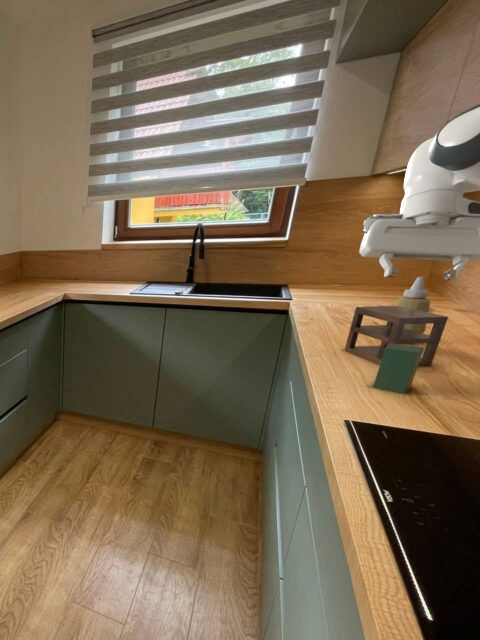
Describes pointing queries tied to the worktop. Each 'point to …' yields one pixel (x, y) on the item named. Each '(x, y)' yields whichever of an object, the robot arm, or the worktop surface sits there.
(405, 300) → the squeeze bottle
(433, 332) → the rack
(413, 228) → the robot arm
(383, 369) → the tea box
